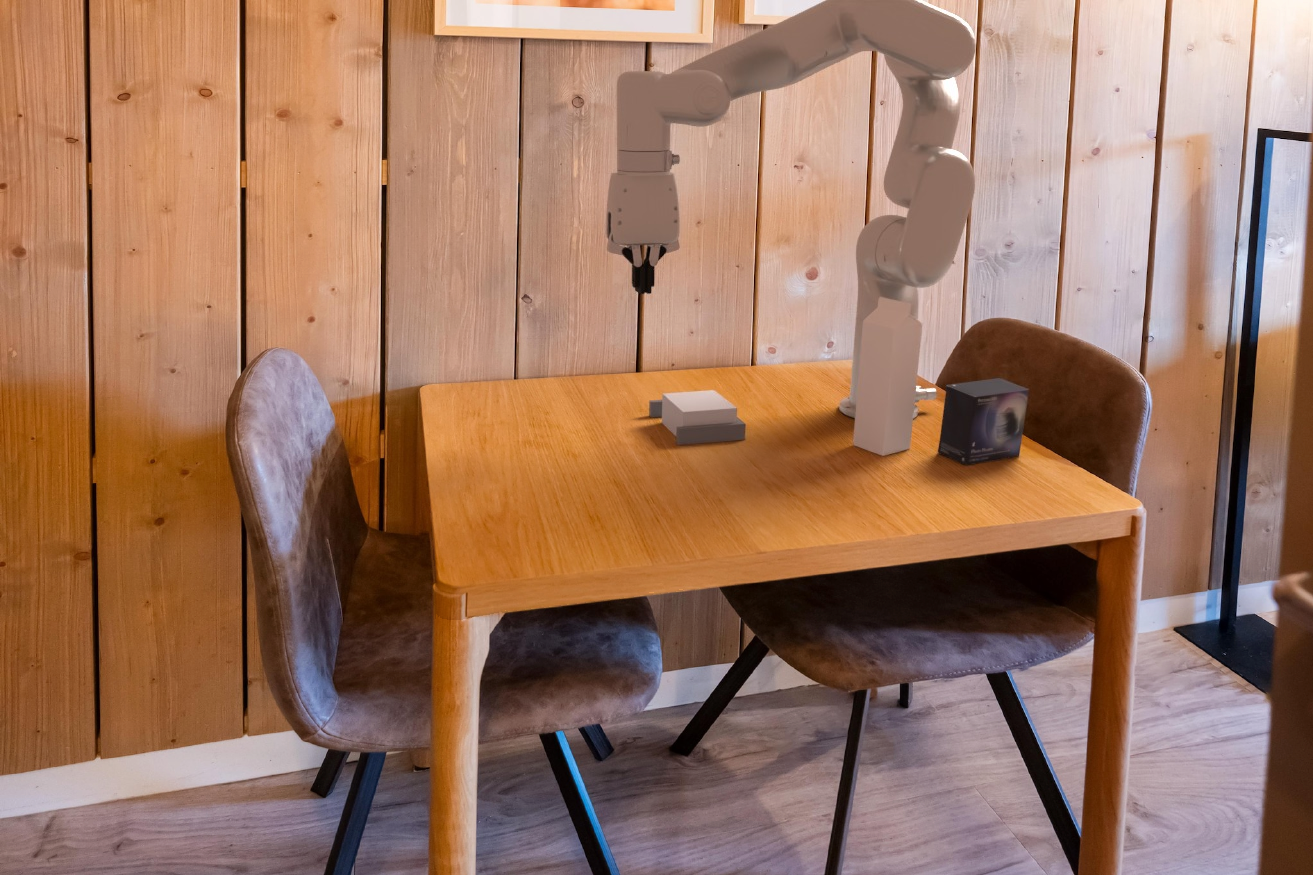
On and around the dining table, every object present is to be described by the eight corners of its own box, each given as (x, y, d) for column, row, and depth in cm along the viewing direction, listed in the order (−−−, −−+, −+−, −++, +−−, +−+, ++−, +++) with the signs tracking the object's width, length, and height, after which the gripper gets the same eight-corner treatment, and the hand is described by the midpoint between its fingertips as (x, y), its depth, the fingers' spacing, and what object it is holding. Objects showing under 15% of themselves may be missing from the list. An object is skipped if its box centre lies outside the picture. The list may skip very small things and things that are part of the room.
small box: (967, 467, 151) (975, 396, 147) (935, 453, 156) (943, 384, 153) (1022, 457, 155) (1031, 387, 152) (989, 443, 161) (998, 376, 158)
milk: (882, 456, 154) (896, 306, 147) (851, 445, 159) (863, 298, 152) (911, 448, 158) (925, 301, 151) (879, 437, 162) (892, 294, 155)
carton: (712, 420, 170) (713, 390, 169) (735, 439, 161) (737, 408, 160) (661, 424, 168) (662, 393, 166) (682, 444, 159) (683, 412, 157)
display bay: (711, 410, 174) (711, 396, 173) (744, 439, 160) (745, 423, 160) (649, 415, 171) (649, 400, 170) (678, 445, 157) (678, 428, 157)
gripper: (685, 160, 157) (683, 285, 163) (585, 162, 152) (587, 290, 158) (702, 164, 150) (699, 294, 156) (598, 166, 146) (600, 300, 151)
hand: (643, 292), depth 157 cm, fingers closed
